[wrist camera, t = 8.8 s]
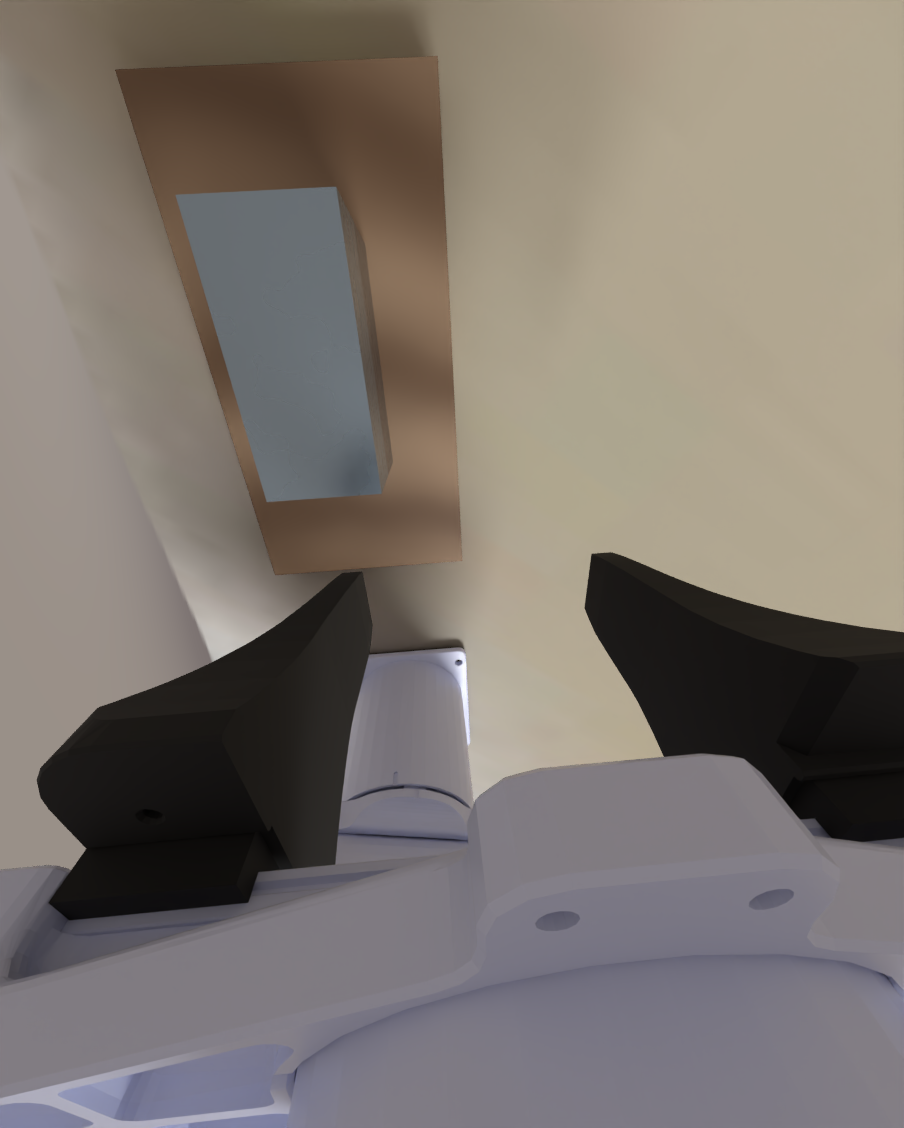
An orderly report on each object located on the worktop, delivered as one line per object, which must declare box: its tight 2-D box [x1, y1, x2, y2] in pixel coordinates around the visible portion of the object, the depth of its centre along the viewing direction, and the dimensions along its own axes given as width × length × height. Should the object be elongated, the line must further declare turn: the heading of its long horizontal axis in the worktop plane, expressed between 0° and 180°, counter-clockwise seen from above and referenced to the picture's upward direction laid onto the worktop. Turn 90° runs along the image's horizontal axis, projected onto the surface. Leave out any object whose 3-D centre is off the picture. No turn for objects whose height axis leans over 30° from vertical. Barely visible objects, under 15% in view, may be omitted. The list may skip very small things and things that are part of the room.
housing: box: [176, 187, 393, 502], centre depth 14 cm, size 4×8×5 cm, turn 3°
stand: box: [115, 56, 462, 575], centre depth 17 cm, size 18×10×2 cm, turn 3°
